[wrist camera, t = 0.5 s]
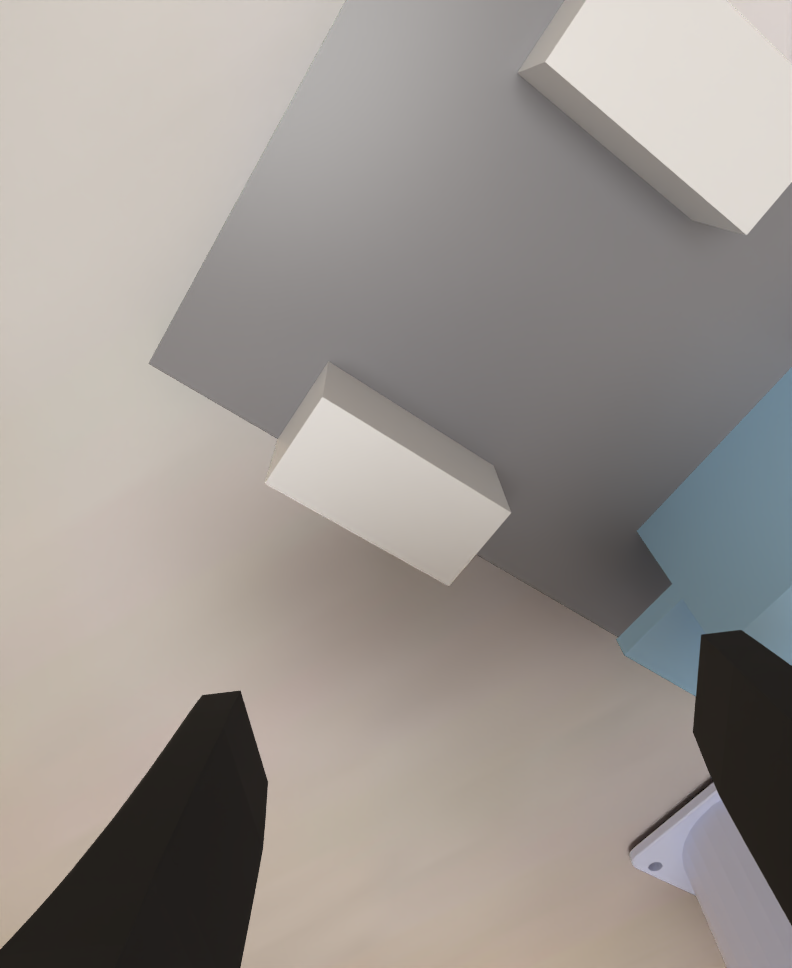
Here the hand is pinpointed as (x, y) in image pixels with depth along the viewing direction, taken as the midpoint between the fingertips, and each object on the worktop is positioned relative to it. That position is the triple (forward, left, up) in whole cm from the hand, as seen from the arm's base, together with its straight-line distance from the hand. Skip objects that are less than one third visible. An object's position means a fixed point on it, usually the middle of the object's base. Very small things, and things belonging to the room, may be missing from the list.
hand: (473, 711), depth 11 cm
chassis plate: (-3, -5, -9) cm, 11 cm away
